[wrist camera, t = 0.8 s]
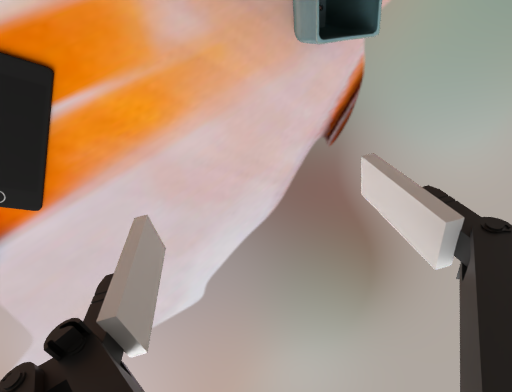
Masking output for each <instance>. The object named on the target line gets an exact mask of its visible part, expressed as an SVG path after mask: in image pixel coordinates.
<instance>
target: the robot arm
mask: <svg viewBox="0 0 512 392" xmlns="http://www.w3.org/2000/svg"><path fill="white" fill-rule="evenodd" d="M361 194H362V195H363V196H364V197H365V198H366V199H367V200H368V202H369V203H370V204H371V205H372V206H373V207H374V208H375V209H376V210H377V211H378V212H379V213H380V214H381V215H382V216H383V217H384V218H385V219H386V220H387V221H388V222H389V223H390V224H391V225H392V226H393V227H394V228H395V229H396V230H397V231H398V232H399V233H400V234H401V235H402V236H403V237H404V238H405V240H407V241H408V243H409V244H410V245H411V246H412V247H413V248H414V249H415V250H416V251H417V252H418V253H419V254H420V255H421V256H422V257H423V258H424V259H425V260H426V261H427V262H428V263H429V264H430V265H431V266H432V267H433V268H434V269H435V270H437V269H440V268H444V267H447V266H451V265H452V261H453V258H454V256H455V257H456V258H457V259H459V260H460V261H461V264H460V268H459V271H458V274H457V277H456V279H460V392H512V225H510V224H509V223H508V222H506V221H503V220H501V219H498V218H493V217H480V216H479V215H477V214H476V213H474V212H473V211H471V210H470V209H468V208H467V207H465V206H464V205H462V204H460V203H459V202H458V201H455V199H453V198H452V197H450V196H448V195H447V194H446V193H444V192H443V191H441V190H440V189H437V188H434V187H431V186H429V185H428V186H424V187H421V186H419V185H418V184H417V183H415V182H414V181H412V180H411V179H410V178H408V177H407V176H405V175H404V174H403V173H401V172H400V171H398V170H397V169H395V168H394V167H393V166H391V165H390V164H388V163H387V162H386V161H384V160H383V159H381V158H380V157H378V156H377V155H376V154H374V153H371V154H368V155H364V156H362V157H361ZM165 249H166V248H165V246H164V244H163V242H162V241H161V239H160V237H159V235H158V233H157V231H156V230H155V228H154V226H153V224H152V222H151V221H150V219H149V217H148V215H144V216H140V217H137V218H134V221H133V223H132V226H131V229H130V232H129V234H128V237H127V240H126V242H125V245H124V248H123V250H122V253H121V256H120V259H119V261H118V264H117V267H116V269H115V272H114V273H113V274H110V275H106V276H105V277H104V279H103V280H102V281H101V282H100V284H99V285H98V287H97V290H96V292H95V294H94V295H95V296H94V297H93V299H92V302H91V303H92V304H90V307H89V309H88V311H87V314H86V316H85V319H84V321H83V322H82V321H81V320H80V319H78V318H71V319H69V320H66V321H64V322H63V323H61V324H60V325H58V326H57V327H56V328H55V329H54V330H53V331H52V332H51V333H50V334H49V336H48V337H47V338H46V341H45V343H44V351H46V352H47V353H48V354H49V355H51V356H52V357H53V358H52V359H50V360H48V361H47V362H45V363H43V364H41V365H40V366H36V365H35V364H33V363H31V362H26V363H22V364H20V365H18V366H16V367H15V368H14V369H12V370H11V371H10V372H8V373H7V374H6V375H5V377H4V378H3V379H2V380H1V381H0V392H144V390H143V389H142V387H141V386H140V385H139V383H138V382H137V381H136V379H135V378H134V376H133V375H132V374H131V372H130V371H129V369H128V368H127V367H126V365H125V364H124V363H123V362H122V361H121V360H122V356H123V352H125V353H126V354H127V355H128V356H129V357H134V356H137V355H141V354H145V353H147V352H148V347H149V341H150V335H151V329H152V324H153V318H154V312H155V307H156V301H157V295H158V289H159V284H160V278H161V272H162V266H163V261H164V255H165Z"/></svg>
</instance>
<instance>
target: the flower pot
mask: <svg viewBox="0 0 512 392" xmlns="http://www.w3.org/2000/svg"><path fill="white" fill-rule="evenodd" d="M381 5H382V0H293V11H294V31H295V35H296V38H297V39H298V40H299V41H300V42H303V43H312V44H325V43H332V42H338V41H345V40H352V39H361V38H369V37H376V36H377V35H378V34H379V30H380V21H381ZM319 6H322V10H319Z"/></svg>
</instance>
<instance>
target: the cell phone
mask: <svg viewBox="0 0 512 392" xmlns="http://www.w3.org/2000/svg"><path fill="white" fill-rule="evenodd" d="M53 77H54V73H53V71H52V70H51V69H50V68H48V67H45V66H43V65H39V64H36V63H33V62H30V61H26V60H23V59H20V58H17V57H14V56H10V55H7V54H4V53H1V52H0V207H6V208H15V209H24V210H32V211H38V210H40V209H41V207H42V201H43V189H44V178H45V167H46V156H47V145H48V134H49V122H50V111H51V100H52V89H53Z"/></svg>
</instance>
